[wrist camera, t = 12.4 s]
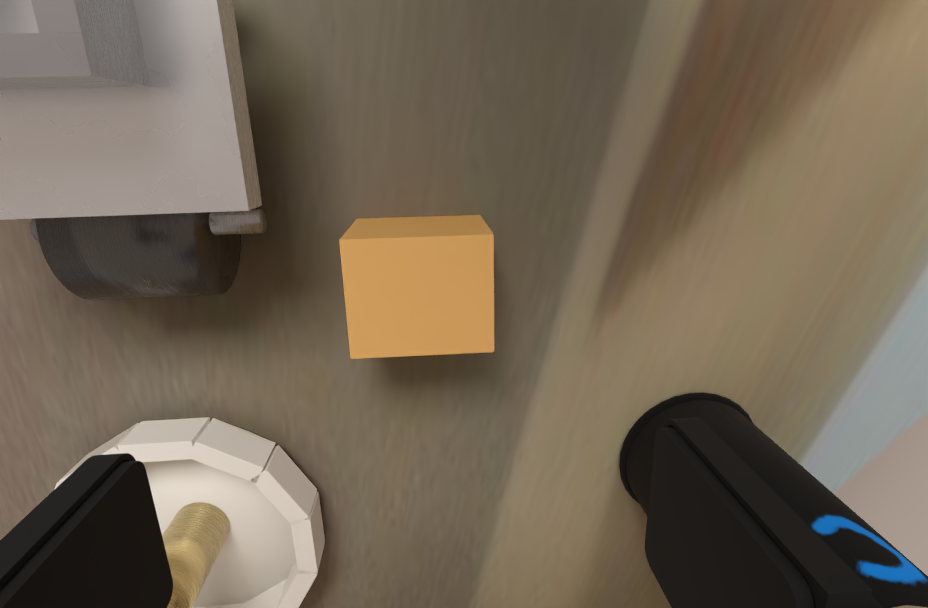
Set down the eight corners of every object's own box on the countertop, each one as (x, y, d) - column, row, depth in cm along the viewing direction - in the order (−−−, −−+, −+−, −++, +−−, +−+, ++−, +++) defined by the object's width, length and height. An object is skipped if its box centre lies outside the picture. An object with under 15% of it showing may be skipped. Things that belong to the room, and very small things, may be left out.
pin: (225, 500, 29) (139, 655, 20) (234, 544, 29) (156, 711, 21) (168, 504, 28) (58, 662, 20) (179, 548, 29) (78, 718, 21)
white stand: (263, -116, 21) (114, -346, 11) (310, 271, 26) (237, 356, 16) (-26, -116, 20) (-464, -361, 10) (79, 281, 25) (-150, 376, 15)
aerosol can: (772, 472, 32) (1298, 979, 13) (650, 532, 32) (971, 1097, 13) (726, 366, 29) (1294, 795, 10) (595, 434, 30) (893, 953, 11)
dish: (310, 404, 28) (297, 434, 25) (336, 597, 32) (327, 642, 29) (50, 419, 27) (7, 452, 24) (110, 616, 31) (79, 664, 28)
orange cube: (480, 214, 26) (493, 234, 20) (480, 310, 27) (494, 351, 22) (356, 218, 25) (339, 239, 20) (365, 315, 27) (350, 358, 22)
